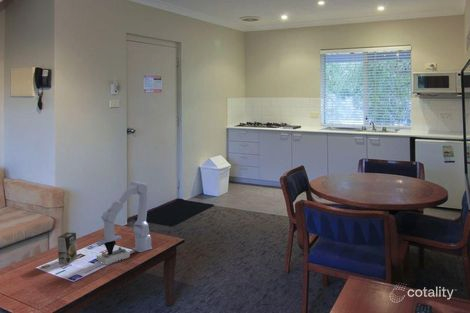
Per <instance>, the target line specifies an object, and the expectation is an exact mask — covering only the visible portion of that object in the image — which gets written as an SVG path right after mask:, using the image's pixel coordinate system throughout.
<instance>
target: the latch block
mask: <svg viewBox="0 0 470 313" xmlns="http://www.w3.org/2000/svg"><path fill="white" fill-rule="evenodd" d="M119 249H123V252H120V253H117V254H114V255H111V256H109V255H108V254H107V253H108V251H107V252H101V253H100V254H97V255H96V261H97V260H98V261H97V262H99V261H100V262H99V263H101V262H102V263H101V264H103V263H104V264H103V265H105V264H108V265H110V264H109V263H111V264H113V263H112V262H114V263H116V262H119V261H122V260H124V259H125V260H126V259H128V258H130V257H131V255H130V254H131V253H130V251H128V250H126V249H125V248H122V247H118V248H117V249H113V251H116V250H119ZM104 253H106V254H107V255H106V257H104V256H103V254H104ZM121 259H122V260H121ZM118 260H119V261H118ZM115 261H116V262H115Z"/></svg>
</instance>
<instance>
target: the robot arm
mask: <svg viewBox="0 0 470 313" xmlns="http://www.w3.org/2000/svg"><path fill="white" fill-rule="evenodd" d="M149 194H150V193H149V191H148V185H147V184H146V183H145V182H140V181H137V180H132V181H131V182H130V183H129V184H128V186H127V188H126V190H125V192H124V193H122V195H121V197H120V198H119V199H118V200H115V201H113V202H112V205H110V207H109V208H108V209H107V210H106V211H104V212H103V213H102V216H101V219H102V220H103V231H104V232H103V234H104V235H103V236H104V238H101V240H97V245H98V246H101V245H104V246H105V248H106V251H107V252H108V254H112V252H113V250H114V247H115V246H116V243H117V241H118V240H122V235H120V234H119V235H115V234H116V233H115V221H116V219H117V216H118V214H119V213H120V212H121V211H122V209H123V208H124V204H125V203H126V202H127V201H128V200H129V198H130V197H131V196H133V195H138V196H139V198H138V209H137V219H136V221H135V222H134V225H133V227H132V233H134V238H135V239H134V240H135V241H134V242H135V247H134V248H132V250H134V251H136V252H138V253H143V252H146V251H148V250H152V249H153V247H152V237H151V234H150V229H149V228H150V227H149V223H148V222H147V217H148V216H147V214H148V206H149V205H148V204H149Z"/></svg>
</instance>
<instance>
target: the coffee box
mask: <svg viewBox="0 0 470 313" xmlns="http://www.w3.org/2000/svg"><path fill="white" fill-rule="evenodd" d="M77 247H78V246H77V232H64V233H63V234H61V235H59V236H57V254H58V256H57V257H58V264H60V265H70V264H71V263H72V262H74V261H75V260H77V259H78V252H77Z"/></svg>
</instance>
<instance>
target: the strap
mask: <svg viewBox="0 0 470 313" xmlns="http://www.w3.org/2000/svg"><path fill="white" fill-rule="evenodd" d="M118 249H119V248H118ZM123 249H124V248H121V249H119V250H116V249H115V250H116V251H113V252H112V254H108V253H107V254H108V255H109V256H111V255H114V254H117V253H120V252H123ZM107 254H106V252H104V254H103V256H104V257H106V255H107Z"/></svg>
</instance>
